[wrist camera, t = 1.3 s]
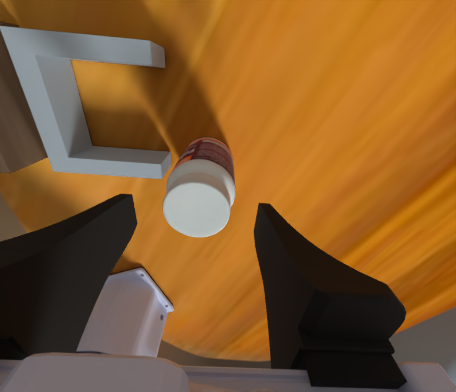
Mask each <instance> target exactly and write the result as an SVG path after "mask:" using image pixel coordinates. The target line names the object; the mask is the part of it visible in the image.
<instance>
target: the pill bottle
mask: <svg viewBox="0 0 456 392" xmlns="http://www.w3.org/2000/svg"><path fill="white" fill-rule="evenodd" d="M234 198H235V179H234V163H233V157H232V154H231V152H230V150H229V149H228V147H227V146H226V145H225V144H224V143H222V142H221V141H219V140H217V139H214V138H206V137H205V138H200V139H197V140H195V141H193V142H191V143H190V144H189V145H188V146H187V148H186V149H185V151H184V152H183V154H182V156H181V157H180V159H179V161H178V162H177V164H176V166H175V167H174V169H173V171H172V172H171V174H170V176H169V178H168V181H167V194H166V196H165V198H164V201H163V213H164V216H165V218H166V220H167V222H168V223H169V224H170V225H171V226H172V227H173V228H174V229H175V230H177V231H178V232H180V233H182V234H184V235H187V236H191V237H206V236H210V235H214V234H216V233H217V232H219V231H220V230H222V229H223V228H224V226H225V225H226V224H227V222H228V220H229V217H230V208H231V206H232V204H233V202H234Z"/></svg>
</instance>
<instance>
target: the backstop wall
mask: <svg viewBox="0 0 456 392" xmlns="http://www.w3.org/2000/svg"><path fill="white" fill-rule="evenodd" d="M0 26H6V27H16V28H19V26H17V25H13V24H9V23H5V22H1V21H0ZM47 157H48V155H47V153H46V150H45V147H44V145H43V142H42V139H41V137H40V134H39V131H38V129H37V126H36V123H35V121H34V118H33V115H32V113H31V110H30V107H29V105H28V102H27V99H26V97H25V94H24V91H23V89H22V86H21V83H20V81H19V78H18V75H17V73H16V70H15V67H14V64H13V62H12V59H11V56H10V54H9V51H8V48H7V46H6V43H5V40H4V38H3V35H2V32H1V30H0V173H13V172H15V171H17V170H19V169H22V168H24V167H26V166H29V165H31V164H33V163H36V162H38V161H40V160H43V159H45V158H47Z"/></svg>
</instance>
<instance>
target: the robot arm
mask: <svg viewBox="0 0 456 392" xmlns="http://www.w3.org/2000/svg"><path fill="white" fill-rule="evenodd" d="M136 226H137V219H136V213H135V208H134V202H133V197H132V194H119V195H117V196H114V197H112V198H110V199H108V200H106V201H104V202H102V203H100V204H98V205H96V206H94V207H92V208H90V209H88V210H86V211H83V212H81V213H79V214H77V215H75V216H72V217H70V218H68V219H66V220H63V221H61V222H58V223H56V224H53V225H51V226H48V227H45V228H42V229H40V230H37V231H34V232H31V233H27V234H24V235H21V236H18V237H15V238H12V239H8V240H4V241H1V242H0V392H456V386H455V384H454V383H453V382H452V380H451V379H450V377H449V376H448V375H447V374H446V372H445V371H444V369H443V368H442V367H441V366H440V364H437V363H424V362H404V363H401V364H398V365H397V363H396V362H395V360H394V359H393V357H392V355H391V354H393V353H394V352H395V351H394V348H393V346H392V345H391V343H390V341H389V340H388V339H389V338H390V337H391V336H392V335H393V334H394V333H395V331H396V330H397V329H398V328H399V327H400V326H401V325H402V323H403V322H404V320H405V316H406V310H405V308H404V306H403V305H402V303H401V302H400V301H399V299H398V298H397V297H396V296H395V294H394V293H393V292H392V290H391V289H390V288H389V287H388V285H387V284H385V283H383V282H380V281H378V280H376V279H374V278H372V277H370V276H367V275H365V274H363V273H361V272H359V271H357V270H355V269H353V268H351V267H349V266H347V265H346V264H344V263H342V262H340V261H338V260H337V259H335V258H333V257H332V256H330V255H329V254H327V253H325V252H324V251H322V250H321V249H319V248H318V247H316V246H315V245H314V244H312V243H311V242H310V241H308V240H307V239H306V238H304V237H303V236H302V235H301V234H300V233H299V232H297V231H296V230H295V229H294V228H293V227H292V226H291V225H290V224H289V223H288V222H287V221H286V220H285V219H284V218H283V217H282V216H281V215H280V214H279V213H278V212H277V211H276V210H275V209H274V208H273V207H272V206H271V205H270V204H266V203H259V205H258V211H257V216H256V222H255V227H254V239H255V248H256V252H257V257H258V261H259V266H260V270H261V275H262V279H263V285H264V292H265V301H266V310H267V320H268V331H269V343H270V356H271V369H259V368H258V369H257V368H230V367H202V366H180V365H178V364H176V363H174V362H172V361H170V360H167V359H164V358H157V357H156V356H157V353H158V349H159V345H160V341H161V338H162V334H163V330H164V326H165V322H166V318H167V314H168V312H172V311H173V310H174V307H173V306H172V304H171V303H170V302H169V300H168V299H167V298H166V297H165V295H164V294H163V293H162V292H161V290H160V289H159V288H158V286H157V285H156V284H155V283H154V281H153V280H152V279H151V277H150V276H149V275H148V274H147V272H146V271H145V270H144V269H143V268H137V269H133V270H129V271H125V272H121V273H117V274H113V275H110V273H111V271H112V269H113V268H114V266H115V265H116V263H117V261H118V260H119V258H120V256H121V255H122V253H123V251H124V250H125V248H126V246H127V245H128V243H129V241H130V240H131V238H132V235H133V233H134V231H135V228H136Z"/></svg>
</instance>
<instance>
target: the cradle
mask: <svg viewBox="0 0 456 392" xmlns="http://www.w3.org/2000/svg"><path fill="white" fill-rule="evenodd" d="M0 30H1V32H2V35H3V38H4V40H5V43H6V46H7V48H8V51H9V54H10V56H11V59H12V62H13V64H14V67H15V70H16V73H17V75H18V78H19V81H20V83H21V86H22V89H23V91H24V94H25V97H26V99H27V102H28V105H29V107H30V110H31V113H32V115H33V118H34V121H35V123H36V126H37V129H38V131H39V134H40V137H41V139H42V142H43V145H44V147H45V150H46V153H47V155H48V158H49V161H50V163H51V166H52V169H53V171H54V172H69V173H83V174H97V175H112V176H126V177H140V178H155V179H162V178H163V177H164V175H165V174H166V172H167V171H168V169H169V168H170V166H171V165H172V164H171V152H167V151H154V150H141V149H127V148H114V147H101V146H92V143H91V139H90V135H89V131H88V127H87V123H86V119H85V115H84V111H83V107H82V103H81V100H80V96H79V92H78V88H77V84H76V80H75V76H74V72H73V68H72V64H71V60H70V59H72V60H83V61H94V62H104V63H115V64H126V65H137V66H148V67H159V68H165V52H164V47H162V46H160V45H158V44H156V43H154V42H152V41H149V40H139V39H129V38H119V37H108V36H98V35H88V34H77V33H67V32H57V31H47V30H36V29H26V28H16V27H6V26H0Z"/></svg>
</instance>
